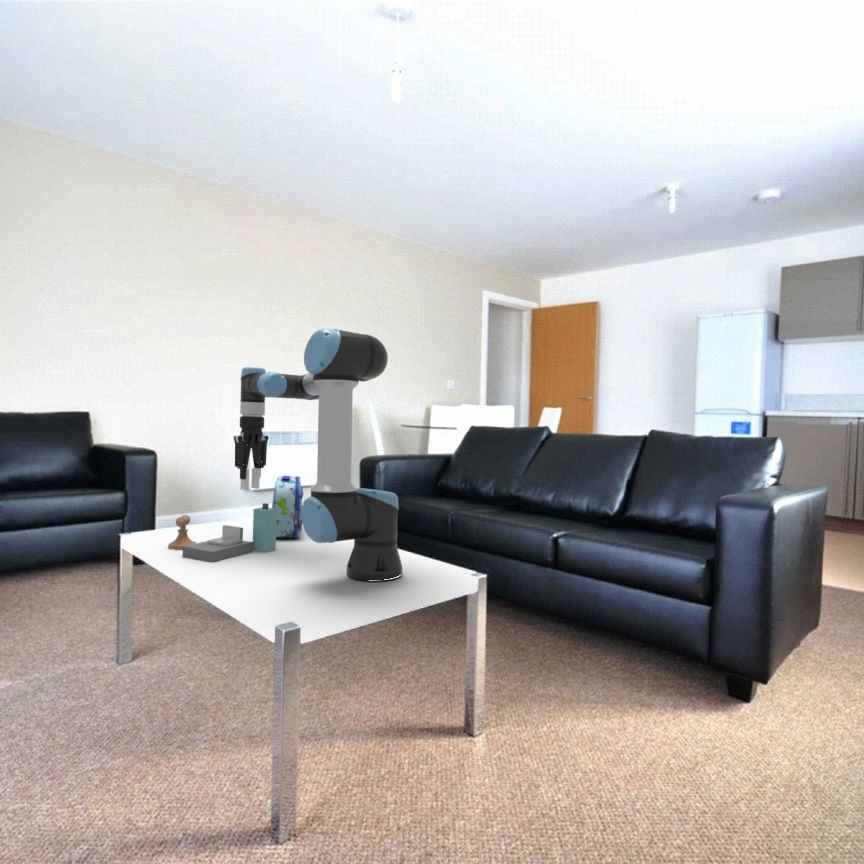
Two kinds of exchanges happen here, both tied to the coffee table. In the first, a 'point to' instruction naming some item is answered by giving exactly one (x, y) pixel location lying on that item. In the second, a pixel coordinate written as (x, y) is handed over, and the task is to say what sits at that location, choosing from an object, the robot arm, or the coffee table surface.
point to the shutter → (228, 536)
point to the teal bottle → (264, 528)
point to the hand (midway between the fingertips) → (249, 488)
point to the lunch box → (288, 506)
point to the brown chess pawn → (181, 534)
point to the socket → (216, 551)
